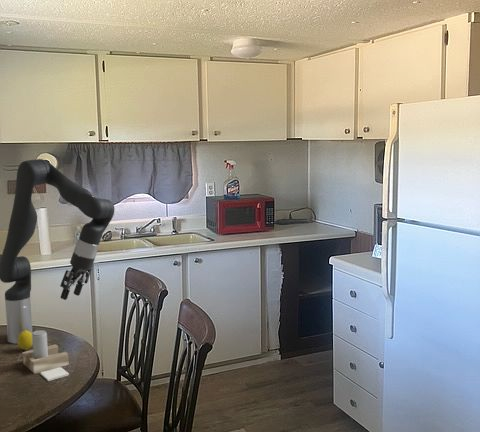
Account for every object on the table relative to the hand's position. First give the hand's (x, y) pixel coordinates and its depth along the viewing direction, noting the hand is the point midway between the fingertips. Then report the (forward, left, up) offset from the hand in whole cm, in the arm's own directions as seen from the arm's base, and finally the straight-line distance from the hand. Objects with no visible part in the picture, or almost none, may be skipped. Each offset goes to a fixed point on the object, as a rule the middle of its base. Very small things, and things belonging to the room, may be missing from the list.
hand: (69, 296), depth 188 cm
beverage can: (-7, -9, -25) cm, 27 cm away
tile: (+4, -8, -24) cm, 26 cm away
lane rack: (-7, -7, -24) cm, 26 cm away
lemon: (-24, -8, -25) cm, 35 cm away
